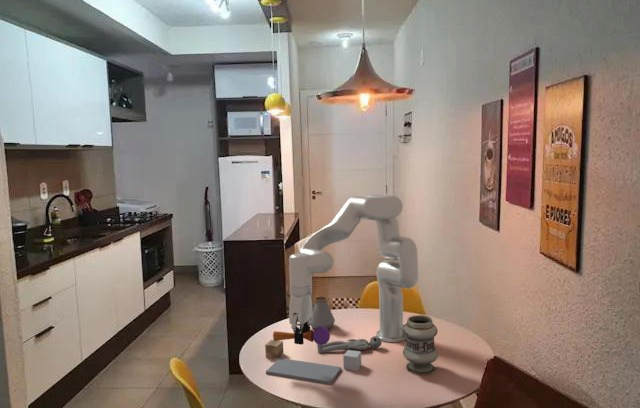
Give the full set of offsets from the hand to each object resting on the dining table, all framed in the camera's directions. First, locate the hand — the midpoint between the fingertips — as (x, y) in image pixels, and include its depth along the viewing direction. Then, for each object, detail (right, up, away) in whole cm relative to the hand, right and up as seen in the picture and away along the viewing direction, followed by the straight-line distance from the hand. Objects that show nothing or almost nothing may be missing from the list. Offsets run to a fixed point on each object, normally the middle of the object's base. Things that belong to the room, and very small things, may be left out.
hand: (302, 340), depth 162 cm
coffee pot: (+2, -7, +43) cm, 44 cm away
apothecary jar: (+41, -11, +1) cm, 43 cm away
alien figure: (+18, -10, +19) cm, 28 cm away
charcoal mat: (0, -11, +1) cm, 12 cm away
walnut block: (-11, -10, +15) cm, 22 cm away
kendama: (0, -1, 0) cm, 1 cm away
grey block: (+18, -11, +4) cm, 21 cm away
